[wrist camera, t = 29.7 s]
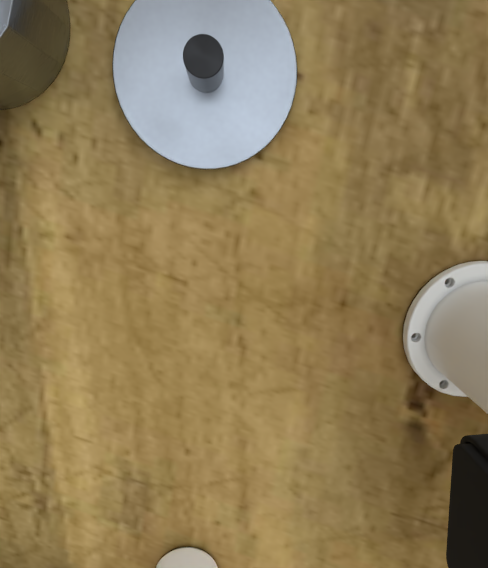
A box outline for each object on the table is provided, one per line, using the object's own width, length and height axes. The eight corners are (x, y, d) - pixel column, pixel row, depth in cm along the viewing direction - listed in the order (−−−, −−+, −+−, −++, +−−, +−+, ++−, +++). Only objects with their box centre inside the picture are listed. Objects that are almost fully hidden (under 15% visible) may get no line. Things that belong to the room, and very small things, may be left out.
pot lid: (291, -29, 31) (306, -75, 25) (297, 164, 34) (312, 160, 28) (104, -20, 30) (77, -65, 25) (128, 175, 34) (110, 173, 28)
